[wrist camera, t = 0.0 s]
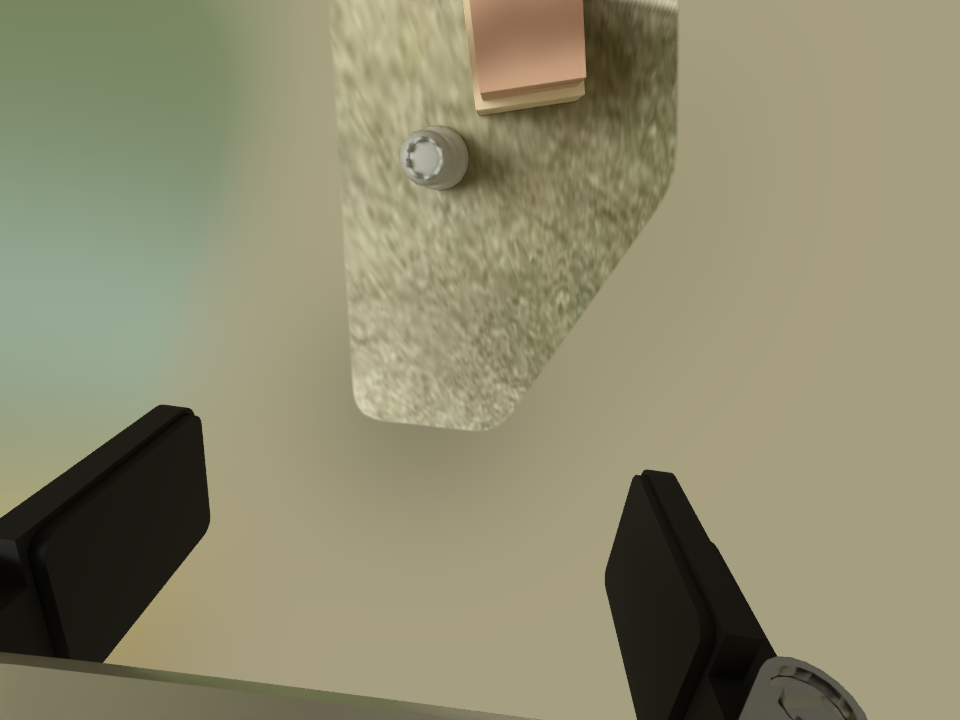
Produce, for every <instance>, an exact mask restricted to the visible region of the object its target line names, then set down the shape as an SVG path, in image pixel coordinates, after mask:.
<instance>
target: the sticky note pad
mask: <svg viewBox="0 0 960 720" xmlns="http://www.w3.org/2000/svg"><path fill="white" fill-rule="evenodd" d="M463 5H464V14H465V22H466V31H467V39H468V47H469V56H470V64H471V72H472V81H473V89H474V97H475V106H476V111H477V113H478V115H486V114H492V113H499V112H506V111H512V110H519V109H526V108H533V107H539V106H546V105H553V104H560V103H566V102H573V101H577V100H578V99H579V98H581V97H582V96H583V95H585V87H584V79H585V78H586V60H585V38H584V15H583V0H463Z"/></svg>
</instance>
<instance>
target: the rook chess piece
mask: <svg viewBox="0 0 960 720" xmlns="http://www.w3.org/2000/svg"><path fill="white" fill-rule="evenodd" d="M468 160H469V156H468V151H467V146H466V144H465V143H464V141H463V140H462V138H461V136H460V135H459V134H458V133H456V132H455V131H453V130H452V129H451V128H449V127H444V126H439V125H436V126H432V127H428V128H424V129H423V130H419V131H415V132H413V133H412V134H411V135H410V136H408V137H407V138H406V139H405V141H404V143H403V145H402V147H401V152H400V162H401V166H402V170H403V171H404V173H405V174H406V176H407V177H408V178H409V179H410V180H411V181H413V182H414V183H416V184H417V185H422V186H425V187H427V188H430V189H435V190H444V189H449V188H452V187H453V186H454V185H456V184H457V183H459V182H460V181H461V179H462V178H463V176H464V174H465V173H466V171H467V166H468Z"/></svg>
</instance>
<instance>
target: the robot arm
mask: <svg viewBox="0 0 960 720" xmlns="http://www.w3.org/2000/svg"><path fill="white" fill-rule="evenodd" d="M204 456H205V455H204V445H203V434H202V424H201V420H200V418H199V417H198V416H195V415H194V413H193V411H192V410H191V409H190V408H185V407H177V406H170V405H159V406H157V407H155V408H154V409H152V410H151V411H150V412H148V413H147V414H145V415H144V416H143V417H141V418H140V419H139V420H137V421H136V422H134V423H133V424H132V425H130V426H129V427H127V428H126V429H124V430H123V431H122V432H120V433H119V434H117V435H116V436H115V437H113V438H112V439H110V440H109V441H108V442H106V443H105V444H103V445H102V446H101V447H99V448H98V449H96V450H95V451H94V452H92V453H91V454H90V455H88V456H87V457H85V458H84V459H83V460H81V461H80V462H78V463H77V464H76V465H74V466H73V467H71V468H70V469H69V470H67V471H66V472H65V473H63V474H62V475H60V476H59V477H57V478H56V479H55V480H53V481H52V482H50V483H49V484H48V485H46V486H45V487H43V488H42V489H41V490H39V491H38V492H36V493H35V494H34V495H32V496H31V497H29V498H28V499H27V500H25V501H24V502H22V503H21V504H20V505H18V506H17V507H15V508H14V509H13V510H11V511H10V512H8V513H7V514H6V515H4V516H3V517H1V518H0V720H538V719H531V718H523V717H516V716H509V715H502V714H494V713H487V712H480V711H471V710H465V709H458V708H450V707H442V706H435V705H428V704H421V703H413V702H406V701H398V700H390V699H383V698H375V697H367V696H359V695H352V694H344V693H336V692H329V691H321V690H313V689H305V688H298V687H290V686H282V685H274V684H266V683H258V682H251V681H243V680H235V679H227V678H219V677H210V676H202V675H195V674H187V673H178V672H170V671H163V670H154V669H145V668H138V667H130V666H121V665H113V664H106V663H103V662H104V661H105V659H106V658H107V657H108V656H109V654H110V653H111V652H112V651H113V649H114V648H115V647H116V646H117V644H118V643H119V641H121V639H122V638H123V637H124V635H125V634H126V633H127V632H128V631H129V629H130V628H131V627H132V625H133V624H134V623H135V622H136V620H137V619H138V618H139V617H140V615H141V614H142V613H143V612H144V610H145V609H146V608H147V606H148V605H149V604H150V602H152V600H153V599H154V598H155V596H156V595H157V594H158V593H159V591H160V590H161V589H162V588H163V586H164V585H165V584H166V583H167V581H168V580H169V579H170V577H171V576H172V575H173V574H174V572H175V571H176V570H177V569H178V567H179V566H180V565H181V564H182V562H183V561H184V560H185V559H186V557H187V556H188V555H189V553H190V552H191V551H192V550H193V548H194V547H195V546H196V545H197V544H198V542H199V541H200V540H201V539H202V537H203V536H204V535H205V533H206V531H207V529H208V526H209V523H210V508H209V498H208V487H207V476H206V466H205V457H204ZM605 587H606V592H607V596H608V600H609V604H610V608H611V612H612V617H613V621H614V625H615V629H616V633H617V637H618V642H619V646H620V650H621V654H622V658H623V663H624V667H625V671H626V675H627V679H628V683H629V688H630V692H631V696H632V700H633V704H634V708H635V713H636V717H637V720H867V718H866V715H865V713H864V712H863V710H862V709H861V707H860V706H859V705H858V703H857V702H856V700H855V699H854V698H853V696H851V694H850V693H849V692H848V691H847V690H845V689H844V688H843V686H841V685H840V684H839V683H838V682H837V681H836V680H834V679H833V678H832V677H830V676H829V675H828V674H826V673H825V672H824V671H822V670H820V669H818V668H816V667H815V666H813V665H810V664H809V663H807V662H804V661H801V660H798V659H795V658H791V657H778V656H777V655H776V653H775V652H774V650H773V648H772V646H771V644H770V643H769V641H768V639H767V637H766V635H765V634H764V632H763V630H762V628H761V626H760V624H759V623H758V621H757V619H756V617H755V615H754V614H753V612H752V610H751V608H750V606H749V604H748V603H747V601H746V599H745V597H744V595H743V594H742V592H741V590H740V588H739V586H738V584H737V583H736V581H735V579H734V577H733V575H732V574H731V572H730V570H729V568H728V567H727V565H726V563H725V561H724V559H723V557H722V555H721V554H720V552H719V550H718V549H717V547H716V546H715V544H714V543H712V542H711V541H710V539H709V538H708V536H707V534H706V532H705V530H704V528H703V527H702V525H701V523H700V521H699V519H698V517H697V515H696V514H695V512H694V510H693V508H692V506H691V504H690V503H689V501H688V499H687V497H686V495H685V493H684V492H683V490H682V488H681V486H680V484H679V482H678V481H677V479H676V477H675V476H674V474H673V473H668V472H660V471H654V470H644V471H643V473H642V474H641V476H640V475H635V476H634V477H633V479H632V482H631V486H630V489H629V492H628V496H627V499H626V502H625V506H624V509H623V513H622V516H621V520H620V523H619V526H618V530H617V533H616V537H615V540H614V543H613V547H612V550H611V554H610V557H609V560H608V564H607V567H606V571H605Z"/></svg>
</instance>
